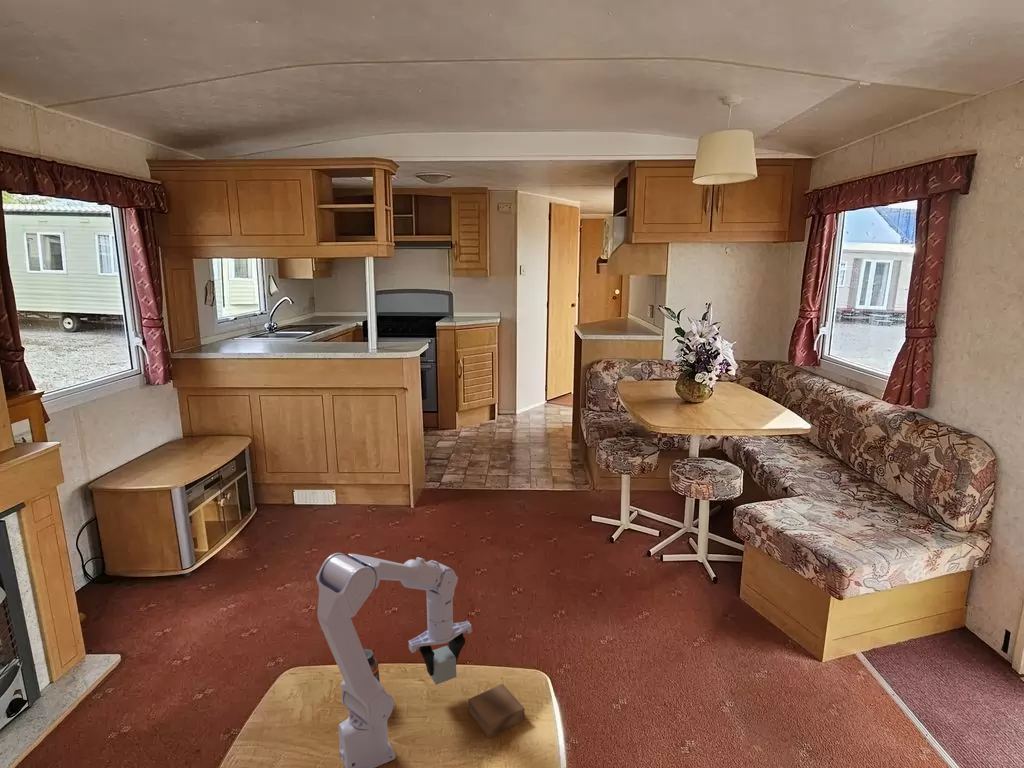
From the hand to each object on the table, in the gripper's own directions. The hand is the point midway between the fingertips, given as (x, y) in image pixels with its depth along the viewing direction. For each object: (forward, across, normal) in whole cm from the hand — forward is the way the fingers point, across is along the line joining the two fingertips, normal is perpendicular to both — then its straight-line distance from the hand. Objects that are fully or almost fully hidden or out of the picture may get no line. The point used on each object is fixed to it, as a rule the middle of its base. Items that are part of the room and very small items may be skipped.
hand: (441, 668), depth 134 cm
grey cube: (+2, 0, 0) cm, 2 cm away
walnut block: (+8, -8, +11) cm, 16 cm away
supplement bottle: (+8, +15, -9) cm, 19 cm away
